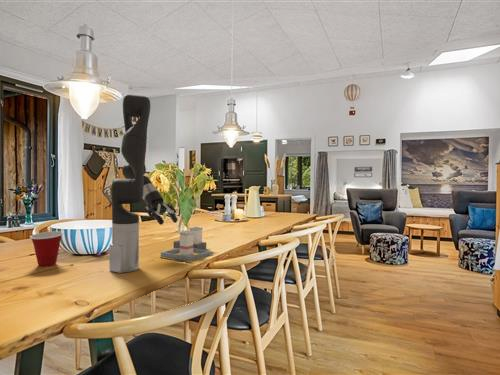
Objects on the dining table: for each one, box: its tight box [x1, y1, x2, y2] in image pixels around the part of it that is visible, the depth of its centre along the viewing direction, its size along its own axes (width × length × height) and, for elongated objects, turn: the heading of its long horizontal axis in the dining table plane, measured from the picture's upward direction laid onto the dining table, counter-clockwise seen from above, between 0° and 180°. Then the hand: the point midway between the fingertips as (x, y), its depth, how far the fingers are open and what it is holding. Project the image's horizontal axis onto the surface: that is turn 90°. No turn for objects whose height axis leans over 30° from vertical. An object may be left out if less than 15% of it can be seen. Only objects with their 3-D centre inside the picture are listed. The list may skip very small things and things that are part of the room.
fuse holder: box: [173, 239, 207, 250], centre depth 155 cm, size 7×14×4 cm, turn 60°
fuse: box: [189, 226, 203, 244], centre depth 153 cm, size 4×4×10 cm
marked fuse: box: [178, 230, 194, 257], centre depth 141 cm, size 4×4×10 cm
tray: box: [160, 248, 212, 264], centre depth 141 cm, size 14×16×2 cm
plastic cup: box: [29, 230, 64, 268], centre depth 126 cm, size 11×11×12 cm
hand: (169, 222), depth 146 cm, fingers open, 8 cm apart
